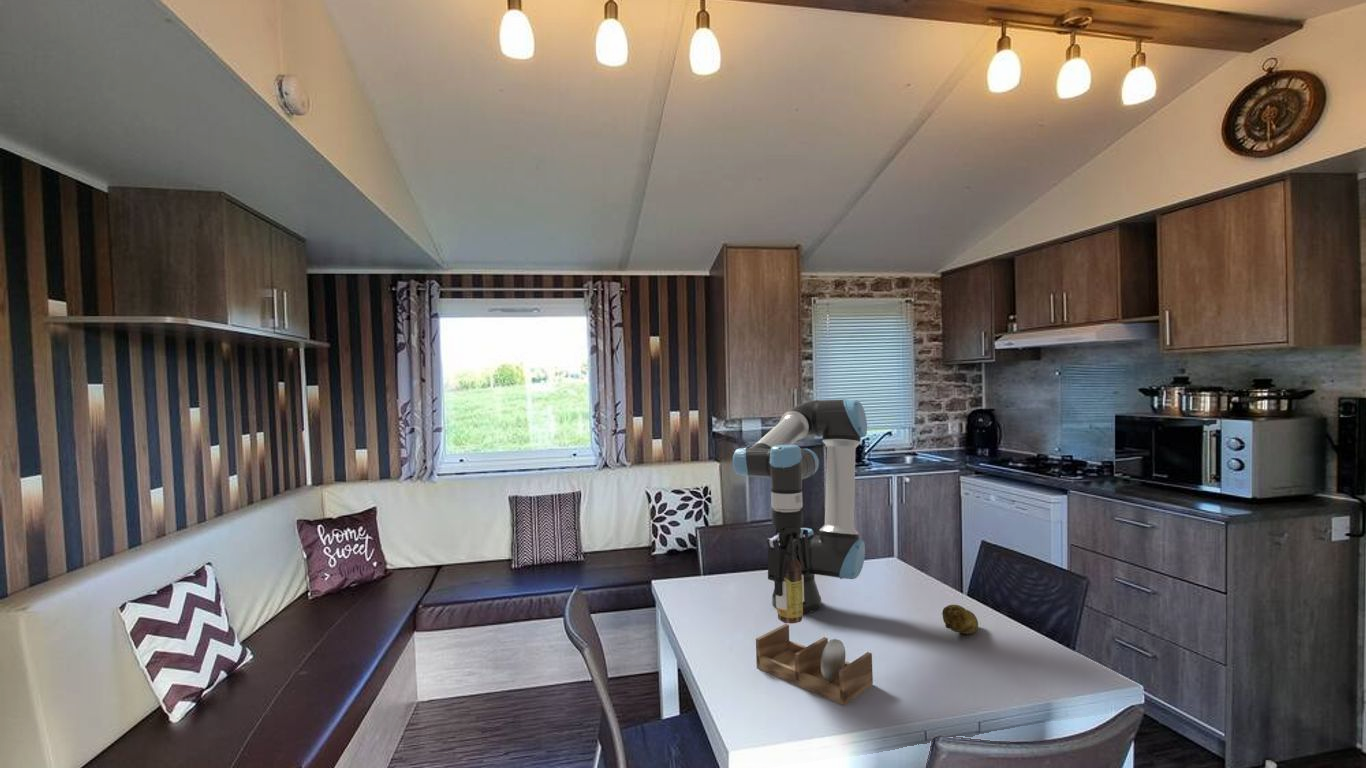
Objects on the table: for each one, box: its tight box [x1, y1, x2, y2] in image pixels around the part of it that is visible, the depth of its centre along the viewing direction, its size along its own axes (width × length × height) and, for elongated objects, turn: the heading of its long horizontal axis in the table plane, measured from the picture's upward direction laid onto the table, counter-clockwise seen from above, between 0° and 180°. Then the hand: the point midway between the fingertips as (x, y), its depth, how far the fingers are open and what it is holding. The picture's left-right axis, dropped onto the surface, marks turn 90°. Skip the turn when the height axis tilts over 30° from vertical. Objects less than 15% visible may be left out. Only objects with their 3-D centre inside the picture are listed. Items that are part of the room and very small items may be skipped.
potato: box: [941, 604, 979, 635], centre depth 153 cm, size 8×13×8 cm, turn 113°
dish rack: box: [755, 623, 874, 706], centre depth 132 cm, size 24×12×10 cm, turn 43°
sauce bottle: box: [776, 538, 804, 624], centre depth 137 cm, size 7×6×20 cm
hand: (790, 604), depth 137 cm, fingers closed on sauce bottle, 6 cm apart
